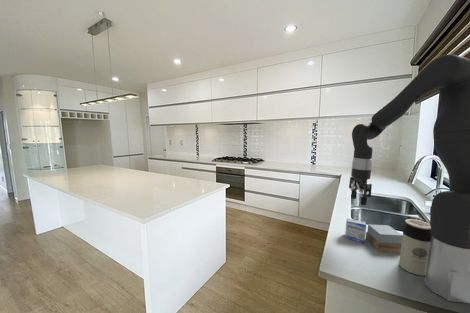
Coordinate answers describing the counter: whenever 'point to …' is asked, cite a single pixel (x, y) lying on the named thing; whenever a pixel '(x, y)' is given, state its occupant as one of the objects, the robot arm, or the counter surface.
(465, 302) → the robot arm
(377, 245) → the tower base block
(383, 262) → the counter surface
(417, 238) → the travel mug
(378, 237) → the tower top block
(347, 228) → the medicine box
